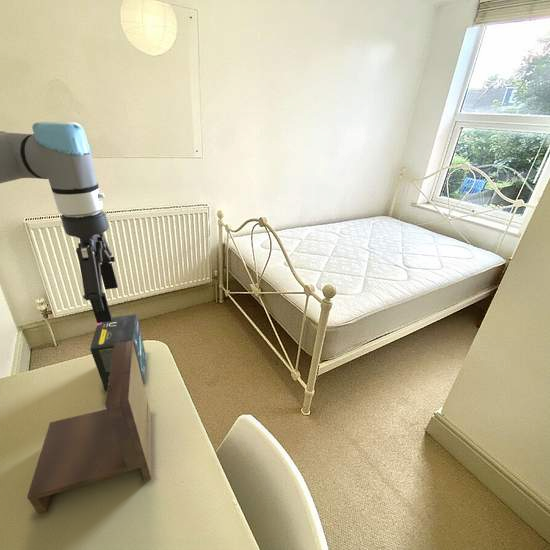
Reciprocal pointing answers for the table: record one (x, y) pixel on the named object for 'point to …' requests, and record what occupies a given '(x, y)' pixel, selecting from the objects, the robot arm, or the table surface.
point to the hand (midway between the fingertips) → (108, 303)
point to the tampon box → (113, 334)
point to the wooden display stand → (98, 436)
